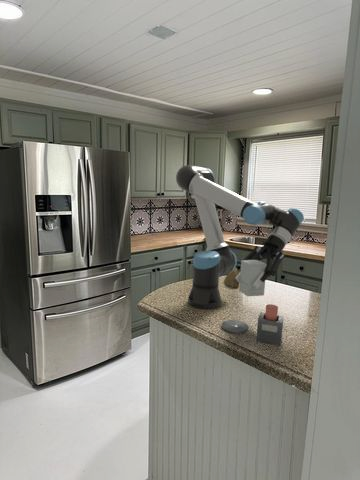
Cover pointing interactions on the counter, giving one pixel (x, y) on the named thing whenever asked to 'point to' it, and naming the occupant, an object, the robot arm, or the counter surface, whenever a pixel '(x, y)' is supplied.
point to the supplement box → (251, 277)
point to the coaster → (235, 326)
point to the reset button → (271, 312)
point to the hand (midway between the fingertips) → (246, 283)
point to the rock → (232, 279)
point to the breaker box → (270, 329)
